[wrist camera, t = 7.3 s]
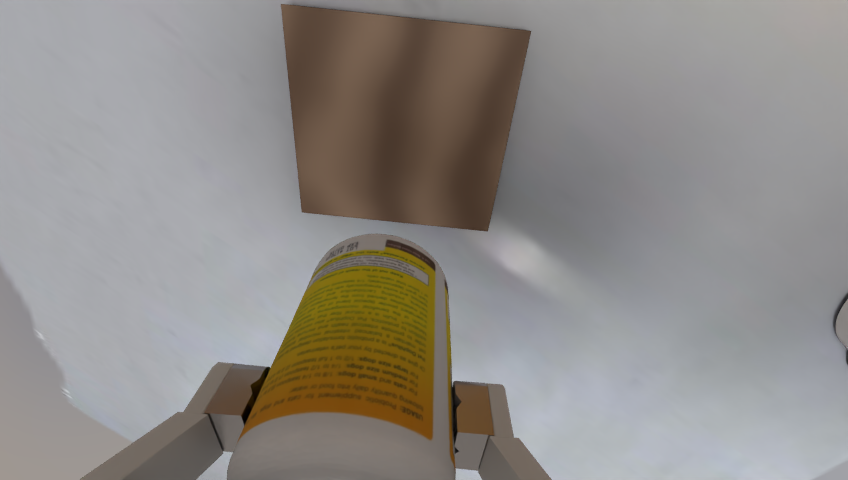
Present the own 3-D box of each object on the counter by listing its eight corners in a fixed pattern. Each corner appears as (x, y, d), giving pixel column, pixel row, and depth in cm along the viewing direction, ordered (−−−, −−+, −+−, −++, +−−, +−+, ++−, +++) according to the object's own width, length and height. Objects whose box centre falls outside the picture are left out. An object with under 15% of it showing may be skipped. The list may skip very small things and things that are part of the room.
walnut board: (526, 30, 23) (531, 31, 22) (485, 222, 30) (487, 231, 29) (290, 4, 23) (280, 4, 21) (307, 204, 30) (301, 212, 29)
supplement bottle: (291, 252, 15) (85, 603, 6) (416, 207, 13) (377, 575, 5) (357, 340, 17) (279, 665, 9) (466, 310, 16) (499, 658, 8)
